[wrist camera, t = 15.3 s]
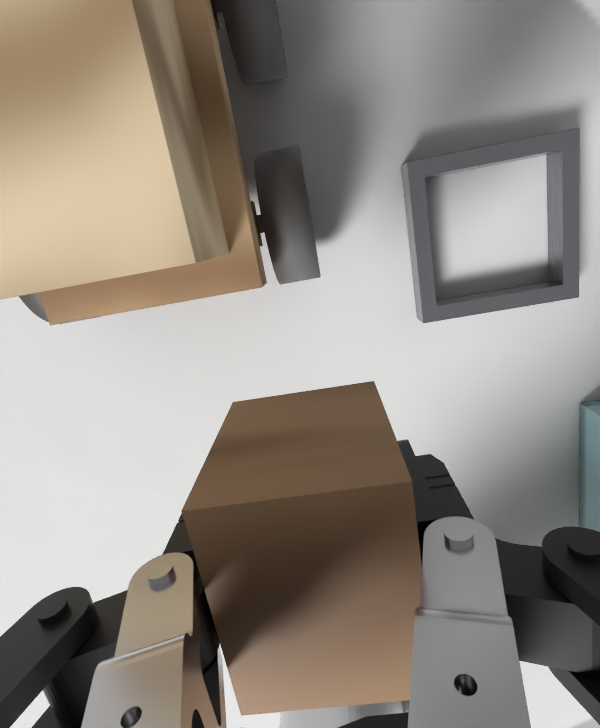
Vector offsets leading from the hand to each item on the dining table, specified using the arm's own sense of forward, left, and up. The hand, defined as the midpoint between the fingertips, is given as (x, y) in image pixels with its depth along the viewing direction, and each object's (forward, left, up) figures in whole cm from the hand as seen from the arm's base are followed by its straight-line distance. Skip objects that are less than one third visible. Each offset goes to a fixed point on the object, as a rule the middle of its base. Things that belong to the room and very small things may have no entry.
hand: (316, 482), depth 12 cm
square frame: (+5, -10, -14) cm, 18 cm away
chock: (0, 0, -1) cm, 1 cm away
